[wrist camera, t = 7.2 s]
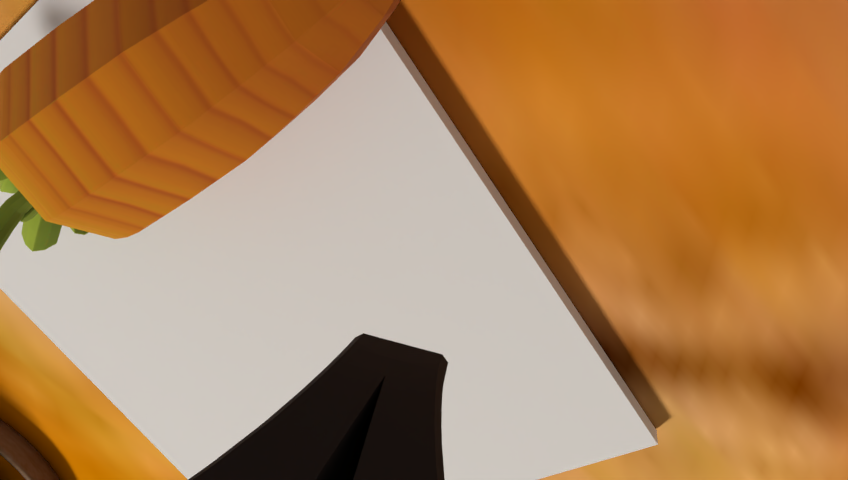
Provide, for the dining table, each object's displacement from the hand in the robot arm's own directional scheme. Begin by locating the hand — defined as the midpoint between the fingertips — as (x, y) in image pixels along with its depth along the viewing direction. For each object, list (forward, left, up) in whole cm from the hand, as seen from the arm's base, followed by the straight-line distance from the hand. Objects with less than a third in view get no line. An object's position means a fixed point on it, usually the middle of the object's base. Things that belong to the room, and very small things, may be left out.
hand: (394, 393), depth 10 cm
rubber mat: (-8, 0, -9) cm, 12 cm away
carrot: (+3, +6, -6) cm, 9 cm away
